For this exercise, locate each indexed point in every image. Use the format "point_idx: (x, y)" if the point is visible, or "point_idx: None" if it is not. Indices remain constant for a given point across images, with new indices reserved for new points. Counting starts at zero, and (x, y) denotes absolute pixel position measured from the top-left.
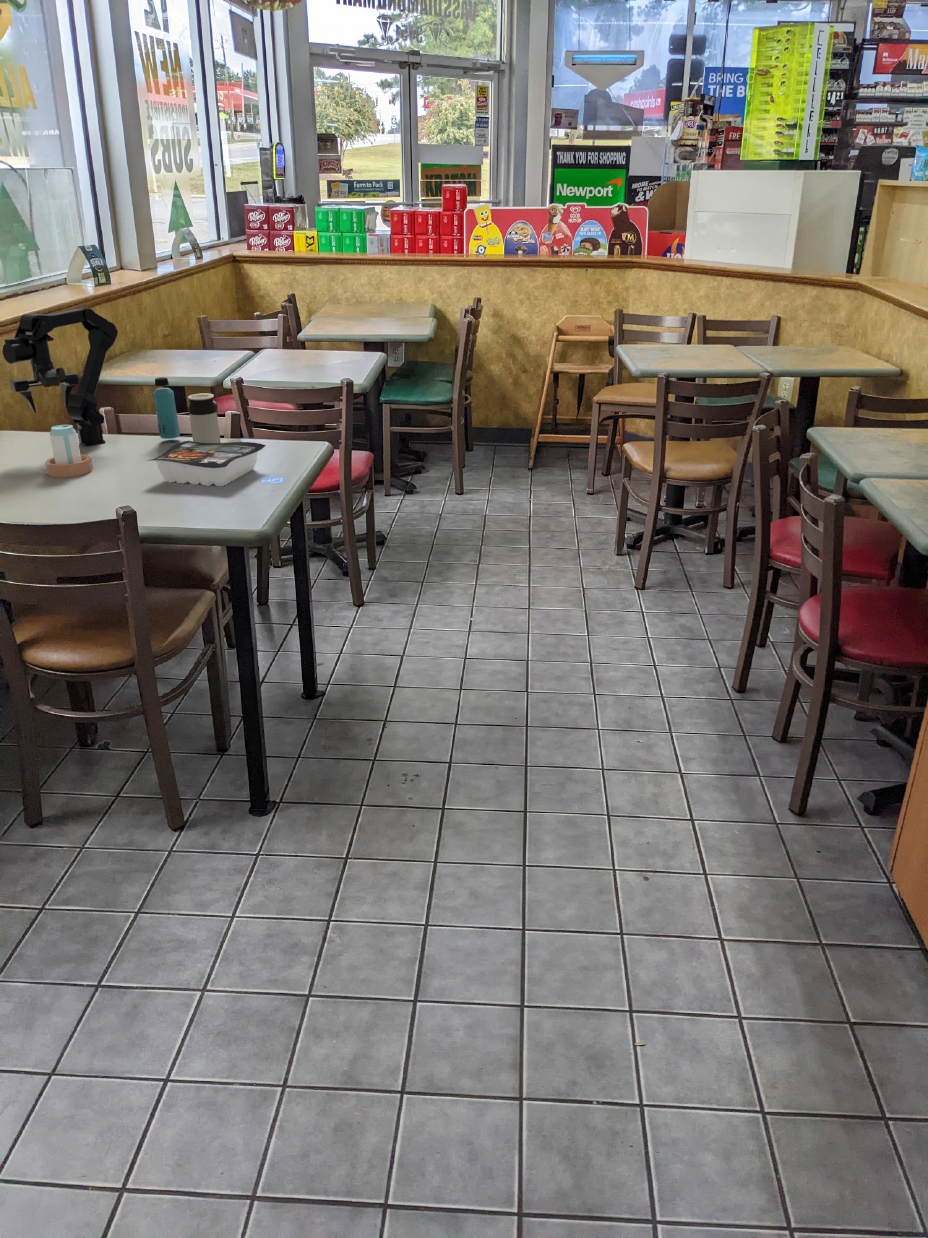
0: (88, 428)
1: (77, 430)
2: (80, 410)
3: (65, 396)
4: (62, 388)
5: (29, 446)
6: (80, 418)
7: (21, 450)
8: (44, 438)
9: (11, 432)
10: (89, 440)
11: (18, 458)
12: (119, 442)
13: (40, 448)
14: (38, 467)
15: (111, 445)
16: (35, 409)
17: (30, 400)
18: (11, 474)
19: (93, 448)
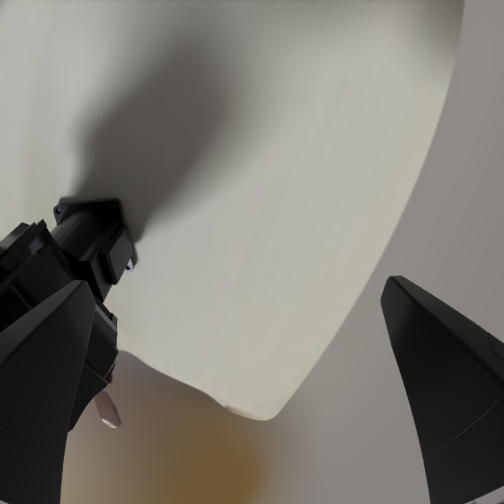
0: (68, 240)
1: (117, 275)
2: (26, 275)
3: (6, 357)
4: (37, 476)
5: (293, 315)
6: (63, 262)
7: (333, 285)
8: (226, 363)
9: (271, 418)
10: (96, 216)
11: (389, 187)
12: (23, 183)
13: (275, 273)
14: (381, 2)
15: (44, 154)
16: (407, 290)
17: (500, 350)
18: (460, 13)
19: (100, 143)
